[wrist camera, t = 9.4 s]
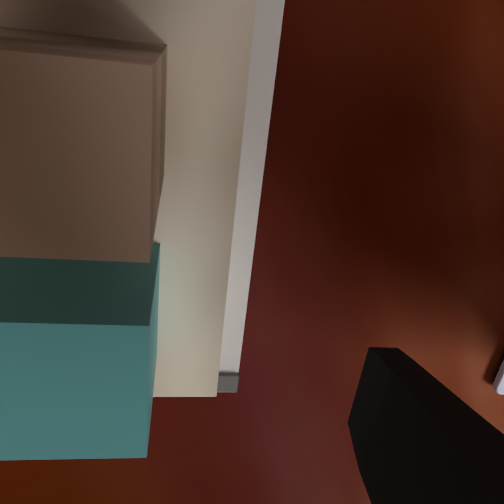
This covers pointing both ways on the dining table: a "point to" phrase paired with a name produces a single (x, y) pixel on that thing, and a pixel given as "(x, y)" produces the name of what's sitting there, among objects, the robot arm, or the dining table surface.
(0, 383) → the block
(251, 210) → the dock
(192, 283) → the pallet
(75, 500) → the dining table surface
